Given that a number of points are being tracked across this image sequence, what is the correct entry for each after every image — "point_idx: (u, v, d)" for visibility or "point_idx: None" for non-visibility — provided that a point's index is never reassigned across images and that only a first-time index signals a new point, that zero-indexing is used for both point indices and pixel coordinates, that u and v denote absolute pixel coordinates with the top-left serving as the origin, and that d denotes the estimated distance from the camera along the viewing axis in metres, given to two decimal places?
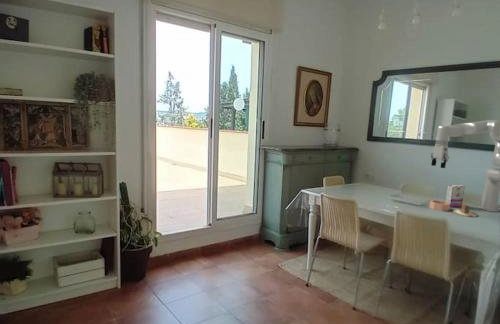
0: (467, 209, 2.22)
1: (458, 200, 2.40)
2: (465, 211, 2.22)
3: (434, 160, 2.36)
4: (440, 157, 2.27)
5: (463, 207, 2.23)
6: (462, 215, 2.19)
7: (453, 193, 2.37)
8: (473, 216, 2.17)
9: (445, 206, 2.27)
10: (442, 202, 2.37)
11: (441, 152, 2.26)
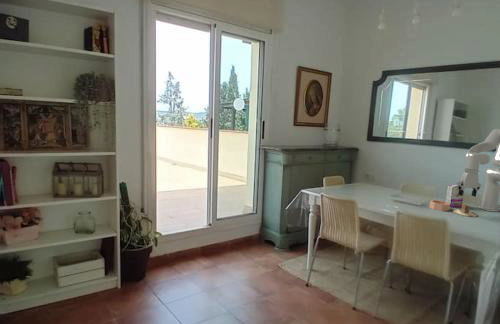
0: (467, 209, 2.22)
1: (458, 200, 2.40)
2: (465, 211, 2.22)
3: None
4: (476, 186, 2.19)
5: (463, 207, 2.23)
6: (462, 215, 2.19)
7: (453, 193, 2.37)
8: (473, 216, 2.17)
9: (445, 206, 2.27)
10: (442, 202, 2.37)
11: (477, 181, 2.18)
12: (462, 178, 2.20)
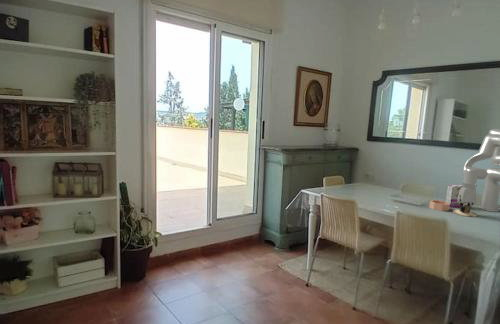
0: (467, 209, 2.22)
1: None
2: (465, 211, 2.22)
3: None
4: (474, 201, 2.21)
5: None
6: (462, 215, 2.19)
7: (453, 193, 2.37)
8: (473, 216, 2.17)
9: (445, 206, 2.27)
10: (442, 202, 2.37)
11: (475, 196, 2.20)
12: (460, 193, 2.22)
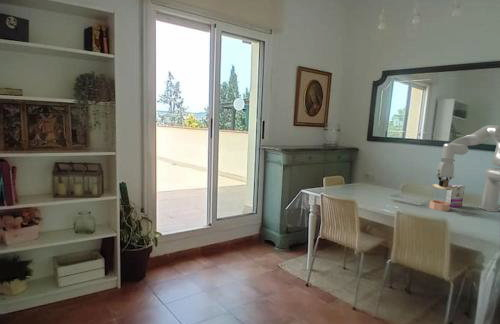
0: (445, 183, 2.29)
1: (458, 200, 2.40)
2: (443, 185, 2.29)
3: None
4: (451, 175, 2.28)
5: None
6: (440, 188, 2.26)
7: (453, 193, 2.37)
8: (451, 189, 2.24)
9: (445, 206, 2.27)
10: (442, 202, 2.37)
11: (453, 170, 2.27)
12: (438, 167, 2.29)
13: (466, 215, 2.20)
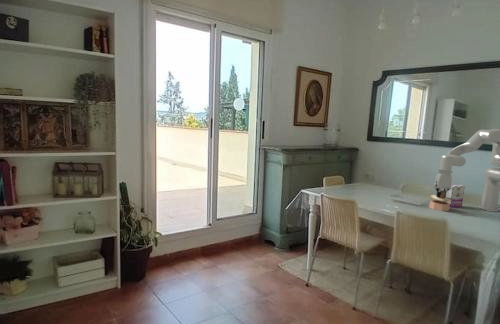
0: (443, 194, 2.31)
1: (458, 200, 2.40)
2: (441, 196, 2.31)
3: None
4: (449, 186, 2.29)
5: None
6: None
7: (453, 193, 2.37)
8: (448, 201, 2.26)
9: (445, 206, 2.27)
10: (442, 202, 2.37)
11: (450, 181, 2.29)
12: (436, 179, 2.31)
13: (466, 215, 2.20)
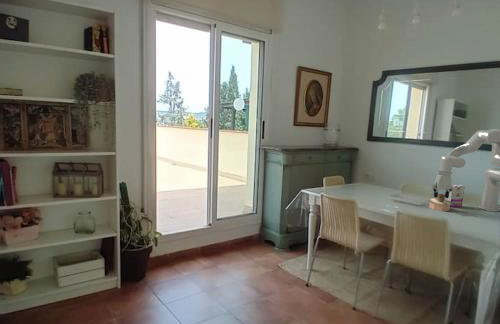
0: (442, 198, 2.31)
1: (458, 200, 2.40)
2: (441, 200, 2.31)
3: None
4: (449, 188, 2.30)
5: (439, 196, 2.32)
6: (437, 203, 2.28)
7: (453, 193, 2.37)
8: (448, 204, 2.26)
9: (445, 206, 2.27)
10: None
11: (450, 183, 2.29)
12: (436, 180, 2.31)
13: (466, 215, 2.20)
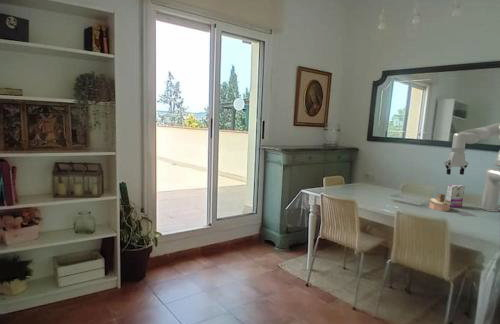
0: (442, 198, 2.31)
1: (458, 200, 2.40)
2: (441, 200, 2.31)
3: None
4: (463, 164, 2.25)
5: (439, 196, 2.32)
6: (437, 203, 2.28)
7: (453, 193, 2.37)
8: (448, 204, 2.26)
9: (445, 206, 2.27)
10: None
11: (464, 159, 2.25)
12: (449, 157, 2.27)
13: (466, 215, 2.20)
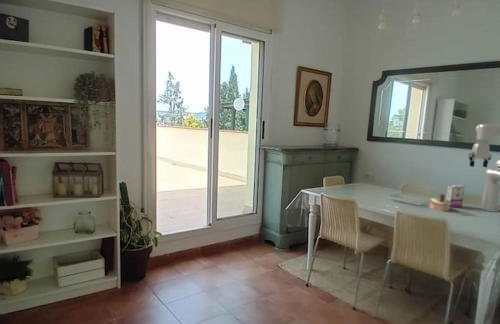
0: (442, 198, 2.31)
1: (458, 200, 2.40)
2: (441, 200, 2.31)
3: None
4: (487, 157, 2.21)
5: (439, 196, 2.32)
6: (437, 203, 2.28)
7: (453, 193, 2.37)
8: (448, 204, 2.26)
9: (445, 206, 2.27)
10: None
11: (488, 151, 2.20)
12: (473, 149, 2.22)
13: (466, 215, 2.20)
